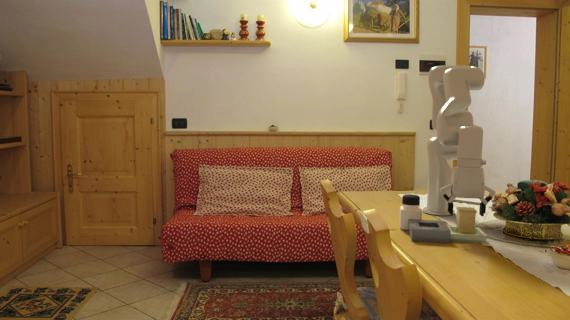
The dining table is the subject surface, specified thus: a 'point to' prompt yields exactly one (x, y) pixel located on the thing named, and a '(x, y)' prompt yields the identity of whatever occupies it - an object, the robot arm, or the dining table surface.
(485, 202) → the robot arm
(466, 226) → the tan rectangular block
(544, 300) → the dining table surface
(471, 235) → the parts tray
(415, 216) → the medicine bottle
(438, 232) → the rail plate
